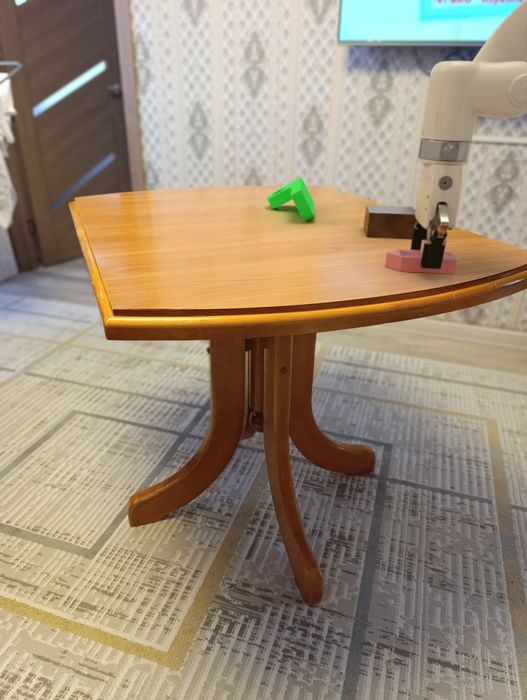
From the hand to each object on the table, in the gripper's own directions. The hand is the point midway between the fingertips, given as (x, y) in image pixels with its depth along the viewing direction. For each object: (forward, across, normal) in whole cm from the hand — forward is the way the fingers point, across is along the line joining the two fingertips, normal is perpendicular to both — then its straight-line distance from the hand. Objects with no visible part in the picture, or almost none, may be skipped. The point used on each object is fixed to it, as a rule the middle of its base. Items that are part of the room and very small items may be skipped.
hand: (424, 259), depth 87 cm
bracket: (+2, +39, +25) cm, 46 cm away
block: (+2, +24, +3) cm, 24 cm away
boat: (+2, 0, +1) cm, 2 cm away
